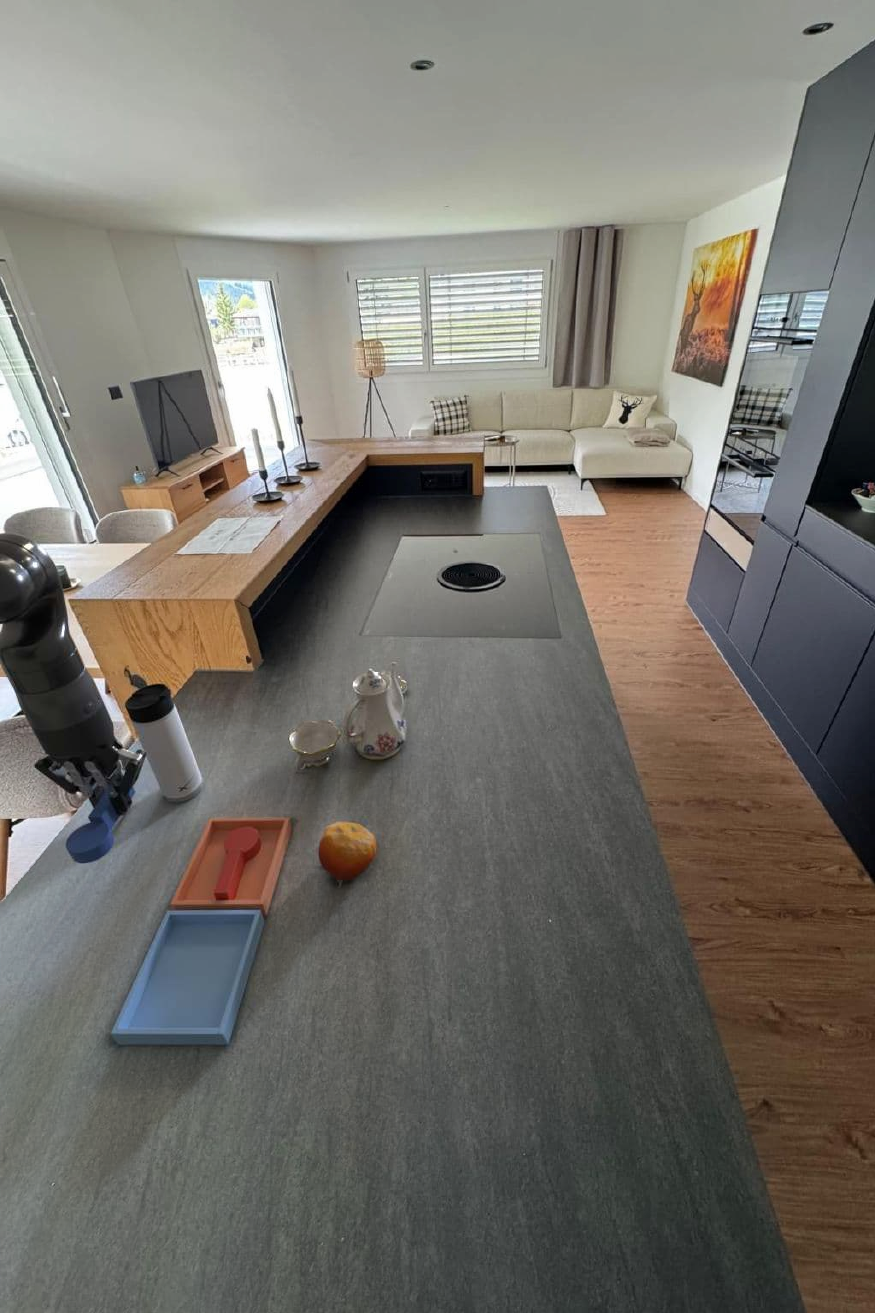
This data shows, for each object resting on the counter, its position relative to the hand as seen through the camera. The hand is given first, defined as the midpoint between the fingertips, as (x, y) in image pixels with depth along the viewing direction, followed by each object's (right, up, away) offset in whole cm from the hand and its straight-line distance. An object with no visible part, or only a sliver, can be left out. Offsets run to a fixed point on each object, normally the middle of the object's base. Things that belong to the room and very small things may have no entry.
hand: (115, 810), depth 74 cm
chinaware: (+30, +5, +28) cm, 41 cm away
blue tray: (+14, -18, -8) cm, 24 cm away
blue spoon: (0, -2, -2) cm, 3 cm away
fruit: (+31, -9, +5) cm, 32 cm away
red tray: (+15, -10, +5) cm, 18 cm away
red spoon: (+15, -9, +5) cm, 18 cm away
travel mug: (+1, -2, +19) cm, 19 cm away
